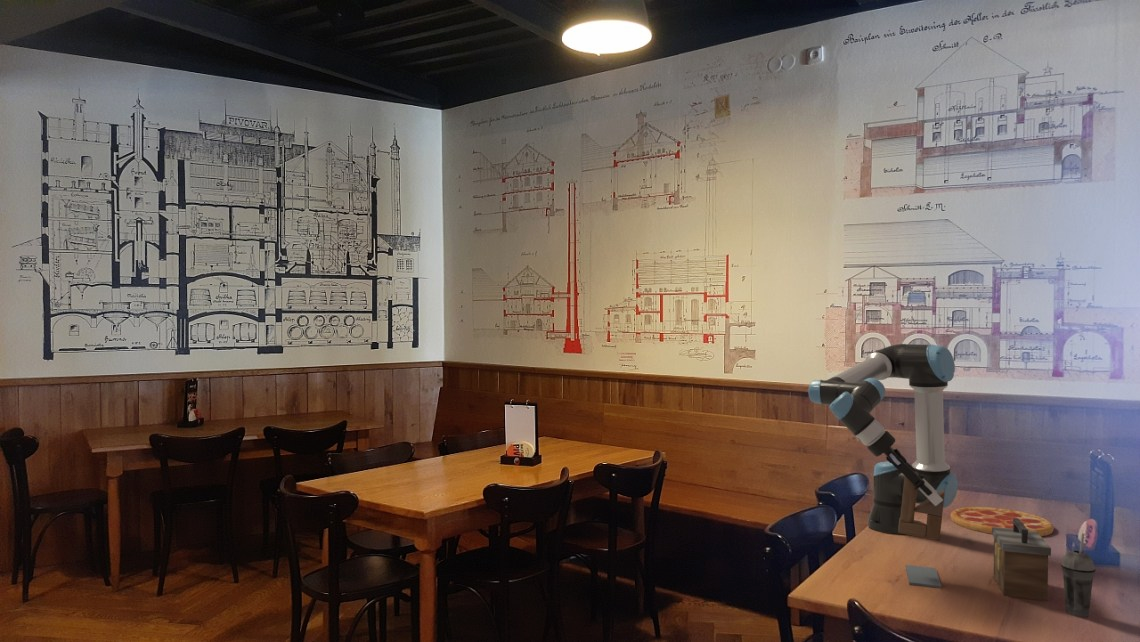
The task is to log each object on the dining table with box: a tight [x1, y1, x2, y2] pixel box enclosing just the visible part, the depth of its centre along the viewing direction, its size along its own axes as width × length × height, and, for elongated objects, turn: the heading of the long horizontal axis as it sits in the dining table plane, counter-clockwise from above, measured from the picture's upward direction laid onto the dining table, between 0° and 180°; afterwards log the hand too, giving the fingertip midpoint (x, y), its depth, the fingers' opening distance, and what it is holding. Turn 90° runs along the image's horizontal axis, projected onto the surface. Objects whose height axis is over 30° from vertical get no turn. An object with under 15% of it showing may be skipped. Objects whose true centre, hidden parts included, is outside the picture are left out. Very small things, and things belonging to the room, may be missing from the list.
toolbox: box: [991, 518, 1052, 602], centre depth 209 cm, size 17×11×18 cm, turn 160°
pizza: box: [950, 506, 1055, 538], centre depth 273 cm, size 32×32×3 cm
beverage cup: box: [1060, 533, 1096, 618], centre depth 191 cm, size 7×7×20 cm
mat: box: [905, 564, 943, 589], centre depth 217 cm, size 16×8×1 cm, turn 160°
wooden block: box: [898, 472, 945, 541], centre depth 219 cm, size 4×11×18 cm, turn 67°
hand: (938, 500), depth 216 cm, fingers open, 4 cm apart
